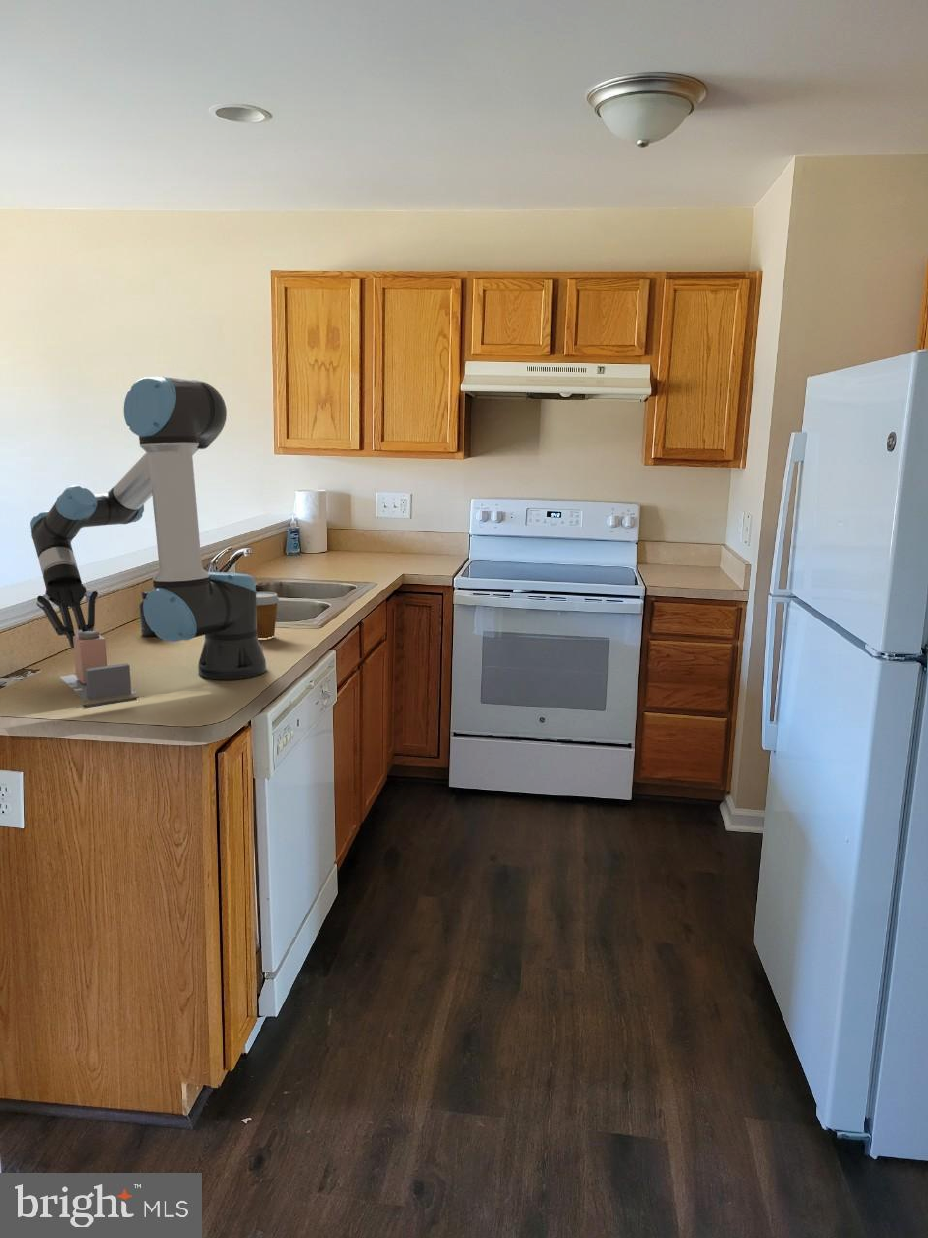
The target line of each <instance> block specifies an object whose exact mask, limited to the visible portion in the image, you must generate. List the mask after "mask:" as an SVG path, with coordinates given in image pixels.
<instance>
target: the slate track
mask: <svg viewBox="0 0 928 1238" xmlns="http://www.w3.org/2000/svg"><path fill="white" fill-rule="evenodd" d="M130 669H131V668H130V665H129V664H128V663H126V662H125V663H118V664H112V665H107V666H102V667H95V668H88V669H85V675H86V683H84V684H83V683H82V682H81V681H80V680H79V679H78V678H77V677H76V674H69V675H64V676H59V678H60V679H61V680H62V681H63V682H64V683H65V684H66V685H67V686H68V687H69V688H70V689H71V690H72V691H73V692H74V693H75V694H76V695H77V696H79V698H80V699H82V701H84V702H88V701H89V702H90V701H97V700H102V699H103V700H104V699H109V698H110V699H111V698H115V697H122V696H128V695H135V694H137V692H136V691H134V689H132V686H131V684H132V683H131V682H132V681H131V670H130ZM137 700H138V697H137V696H134V697H133V696H132V697H128V698H123V699H116V700H109V701H102V702H97V703H90V704H89V703H88V704H84V705H82V707H83V708H84V709H90V708H96V707H103V706H109V705H116V704H122V703H129V702H133V701H134V702H135V701H137Z"/></svg>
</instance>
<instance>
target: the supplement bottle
mask: <svg viewBox="0 0 928 1238" xmlns="http://www.w3.org/2000/svg"><path fill="white" fill-rule="evenodd" d="M152 590H153V589H149V590H144V591H143V590H142V592H141V599H142V600H141V602H140V603H139V604H138V611H139V612H138V613H139V622H140V623H139V624H140V633H141V635H142V636H143V637H145V636H146V638H147V637H148V638H154V637H158V636H157V635H156V634H155V632H154V631H152V630H151V628H150V627H149V625H148V624H147V621H146V619H145V616H144V611H143V604H144V600H145V599H146V596H147V594H148V593H149V592H151V591H152Z"/></svg>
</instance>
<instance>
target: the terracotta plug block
mask: <svg viewBox="0 0 928 1238" xmlns="http://www.w3.org/2000/svg"><path fill="white" fill-rule="evenodd" d="M73 641H74V648H73V650H74V652H73V653H74V664H75V665H74V666H75V675H76V677H77V678H78V679H79V680H80V681H81V682H82V683H83V684H84V683H86V675H85V669H88V668H95V667H102V666H108V656H107V646H106V645H107V644H106V643H107V641H106V638H105V637H103V636H102V635H101V634H100V632H99V631H97V630H96V631H95V630H93V631H85V632H80V633H79V636H73Z"/></svg>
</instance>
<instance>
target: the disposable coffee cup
mask: <svg viewBox="0 0 928 1238" xmlns="http://www.w3.org/2000/svg"><path fill="white" fill-rule="evenodd" d="M279 600H280V598H279V597H278V593H277V592H272V591H257V594H256V602H257V638H268V637H272V636H274V637H275V633H276V632H275V631H276V621H277V611H278V603H279Z"/></svg>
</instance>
